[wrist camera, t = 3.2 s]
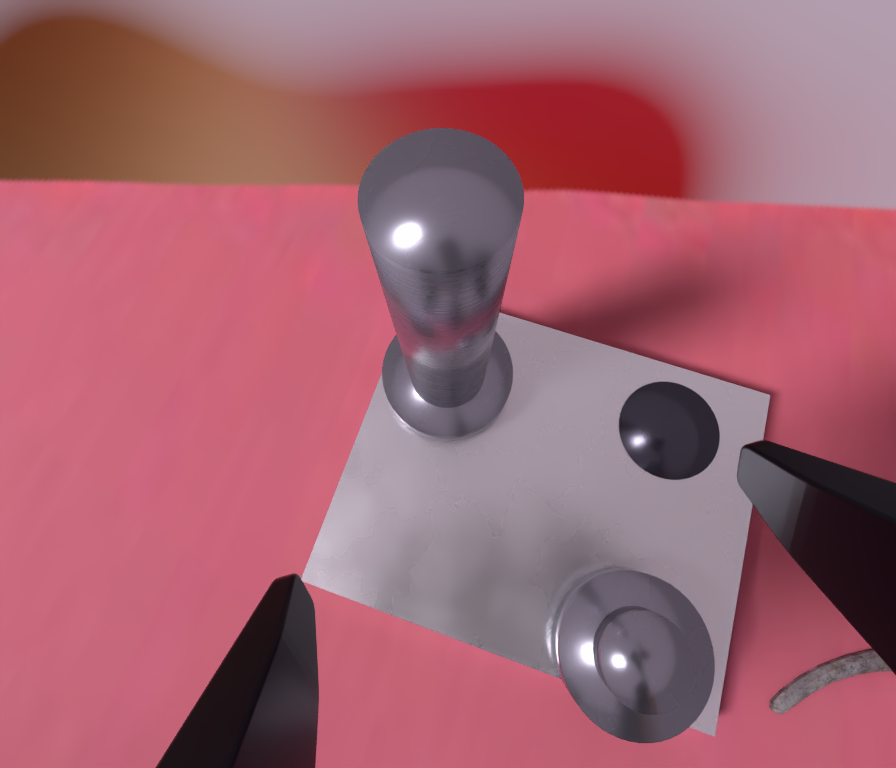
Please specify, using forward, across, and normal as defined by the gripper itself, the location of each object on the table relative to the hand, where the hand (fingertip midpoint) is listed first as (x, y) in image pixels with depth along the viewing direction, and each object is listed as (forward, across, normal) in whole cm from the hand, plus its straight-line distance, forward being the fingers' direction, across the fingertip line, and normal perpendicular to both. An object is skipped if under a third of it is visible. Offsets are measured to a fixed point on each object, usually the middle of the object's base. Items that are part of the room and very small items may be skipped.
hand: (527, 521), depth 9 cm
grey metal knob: (+4, -4, +12) cm, 13 cm away
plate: (+9, -3, +8) cm, 13 cm away
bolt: (+12, 0, +4) cm, 13 cm away
